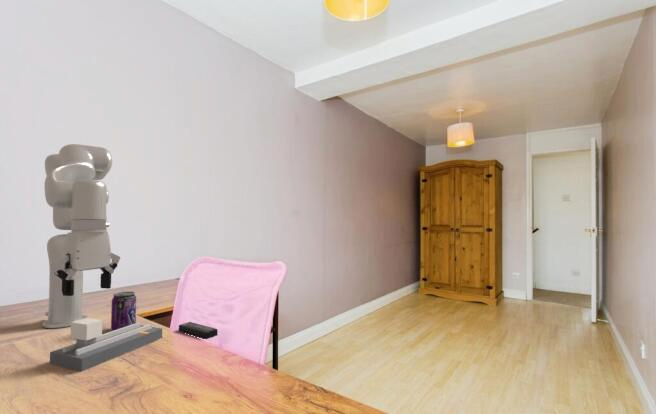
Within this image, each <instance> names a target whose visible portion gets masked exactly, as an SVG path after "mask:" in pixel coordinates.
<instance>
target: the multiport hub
mask: <svg viewBox="0 0 656 414" xmlns="http://www.w3.org/2000/svg"><path fill="white" fill-rule="evenodd" d="M178 332H181V333H184V334H188V335H191V336H194V337H198V338H200V339H204V340H209V339H211V338H214V337H216V336H217V337H218V328H216V327H212V326H207V325H203V324H199V323H195V322H192V321H189V322H185V323H182V324H179V325H178Z"/></svg>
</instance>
